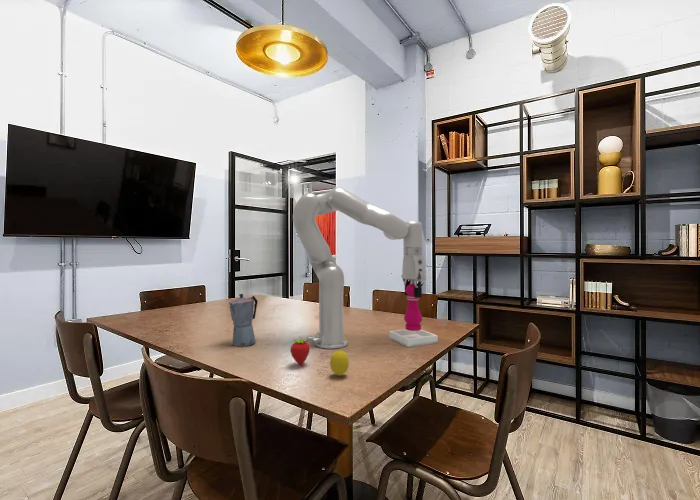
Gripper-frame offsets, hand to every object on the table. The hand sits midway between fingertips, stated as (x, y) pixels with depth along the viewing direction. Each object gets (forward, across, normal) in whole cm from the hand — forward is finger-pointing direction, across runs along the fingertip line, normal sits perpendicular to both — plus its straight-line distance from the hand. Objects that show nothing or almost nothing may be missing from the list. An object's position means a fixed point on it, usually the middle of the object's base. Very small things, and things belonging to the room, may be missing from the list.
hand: (413, 295), depth 144 cm
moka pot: (+18, +25, +63) cm, 70 cm away
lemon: (+18, -23, +42) cm, 51 cm away
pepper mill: (+14, 0, 0) cm, 14 cm away
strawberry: (+18, -9, +50) cm, 54 cm away
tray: (+18, 0, 0) cm, 18 cm away
